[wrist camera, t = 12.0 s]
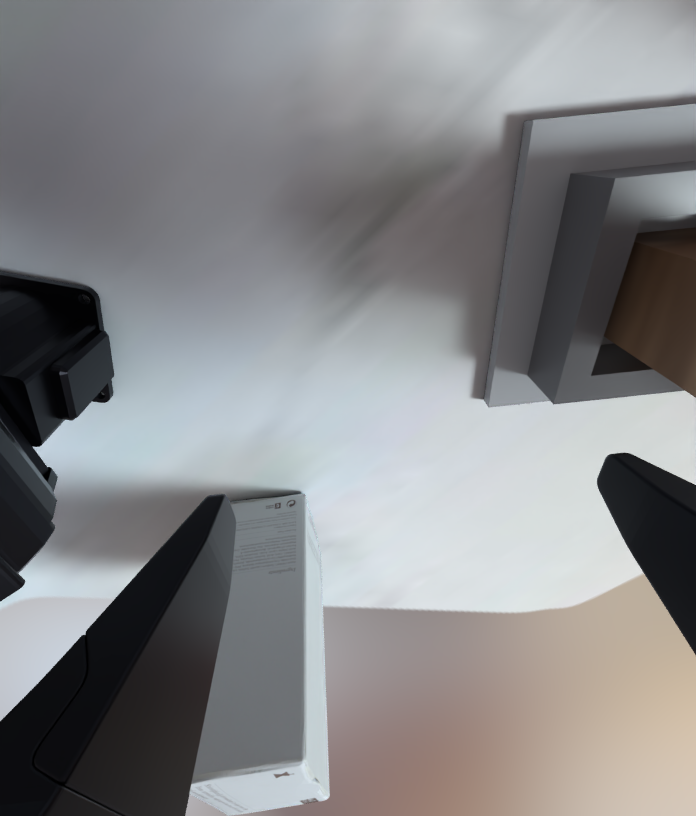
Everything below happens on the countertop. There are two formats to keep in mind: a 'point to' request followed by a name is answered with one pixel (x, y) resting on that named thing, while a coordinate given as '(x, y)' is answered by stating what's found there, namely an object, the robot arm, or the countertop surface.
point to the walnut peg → (659, 305)
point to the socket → (585, 250)
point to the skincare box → (268, 669)
